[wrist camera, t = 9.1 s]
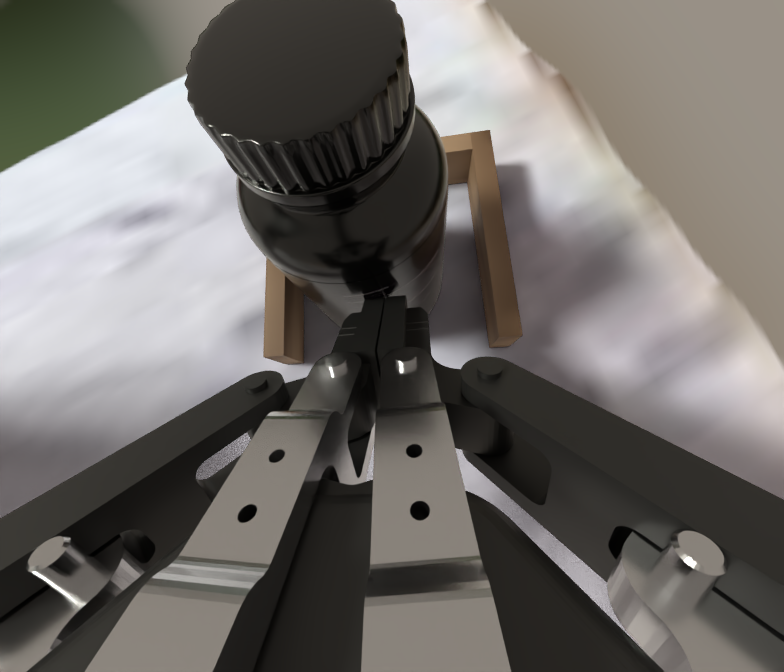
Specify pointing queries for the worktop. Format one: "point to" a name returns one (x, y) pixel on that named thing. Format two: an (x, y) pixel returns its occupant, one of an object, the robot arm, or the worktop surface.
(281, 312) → the walnut frame
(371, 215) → the supplement bottle
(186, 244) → the worktop surface
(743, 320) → the worktop surface
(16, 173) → the worktop surface
